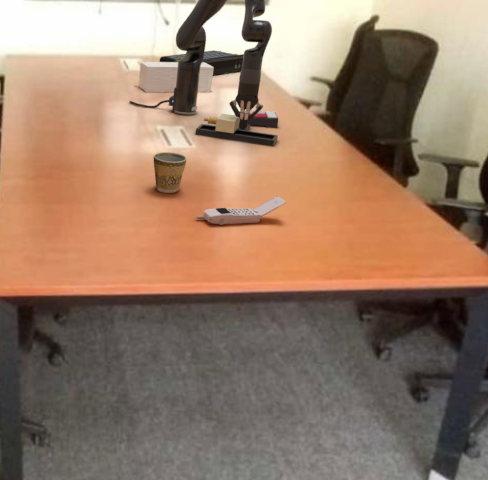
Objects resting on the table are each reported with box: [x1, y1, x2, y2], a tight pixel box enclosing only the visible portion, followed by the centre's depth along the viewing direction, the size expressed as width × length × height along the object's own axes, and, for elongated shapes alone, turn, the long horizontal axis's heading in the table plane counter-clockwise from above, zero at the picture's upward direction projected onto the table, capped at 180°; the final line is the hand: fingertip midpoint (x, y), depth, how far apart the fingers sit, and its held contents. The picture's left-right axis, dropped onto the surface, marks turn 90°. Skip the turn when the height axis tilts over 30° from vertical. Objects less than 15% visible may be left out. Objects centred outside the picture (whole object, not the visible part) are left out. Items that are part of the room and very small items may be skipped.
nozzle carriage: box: [203, 113, 240, 134], centre depth 290 cm, size 13×9×6 cm
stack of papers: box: [138, 61, 214, 93], centre depth 352 cm, size 32×11×11 cm, turn 107°
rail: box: [194, 123, 279, 147], centre depth 290 cm, size 30×8×2 cm, turn 71°
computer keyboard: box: [159, 50, 244, 76], centre depth 400 cm, size 45×28×7 cm, turn 134°
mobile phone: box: [196, 195, 287, 226], centre depth 215 cm, size 6×6×25 cm
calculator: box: [239, 110, 279, 129], centre depth 310 cm, size 11×4×15 cm
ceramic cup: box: [153, 151, 187, 194], centre depth 234 cm, size 13×10×10 cm
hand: (242, 129), depth 288 cm, fingers closed
